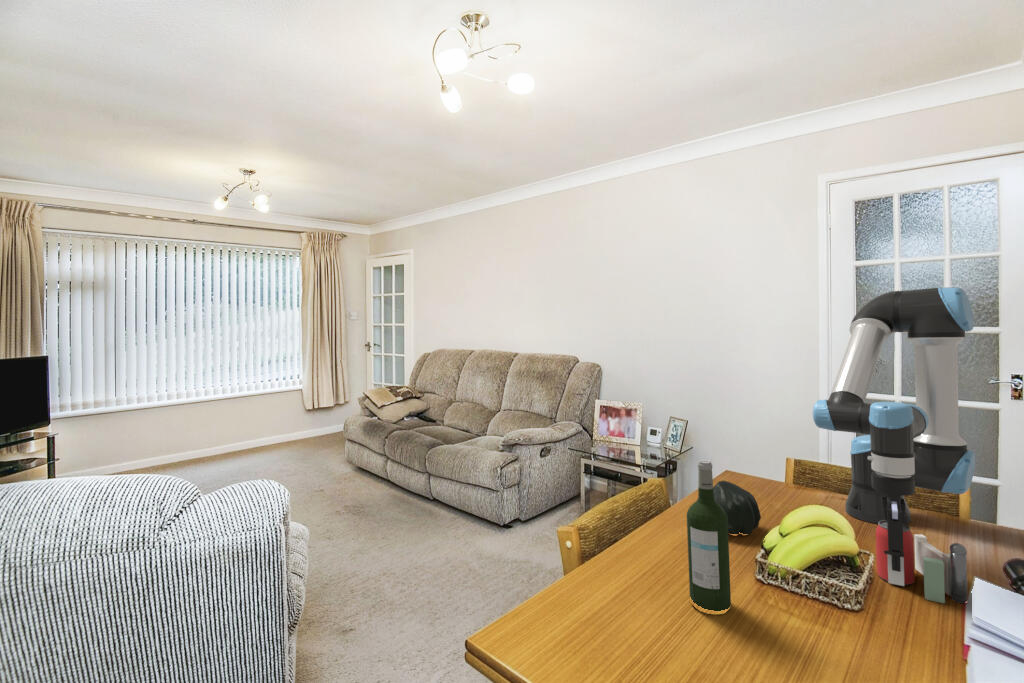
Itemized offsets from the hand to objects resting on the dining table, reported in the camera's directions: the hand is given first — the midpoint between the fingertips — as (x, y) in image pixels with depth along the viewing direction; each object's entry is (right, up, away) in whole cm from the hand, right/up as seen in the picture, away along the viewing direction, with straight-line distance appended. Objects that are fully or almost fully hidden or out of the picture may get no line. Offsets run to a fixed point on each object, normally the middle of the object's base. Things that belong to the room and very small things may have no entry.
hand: (895, 576), depth 107 cm
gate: (+7, 0, -2) cm, 7 cm away
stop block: (+1, -1, -8) cm, 8 cm away
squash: (-23, -1, +28) cm, 37 cm away
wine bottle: (-44, -3, -7) cm, 44 cm away
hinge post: (+6, 0, -9) cm, 11 cm away
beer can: (0, -1, 0) cm, 1 cm away
